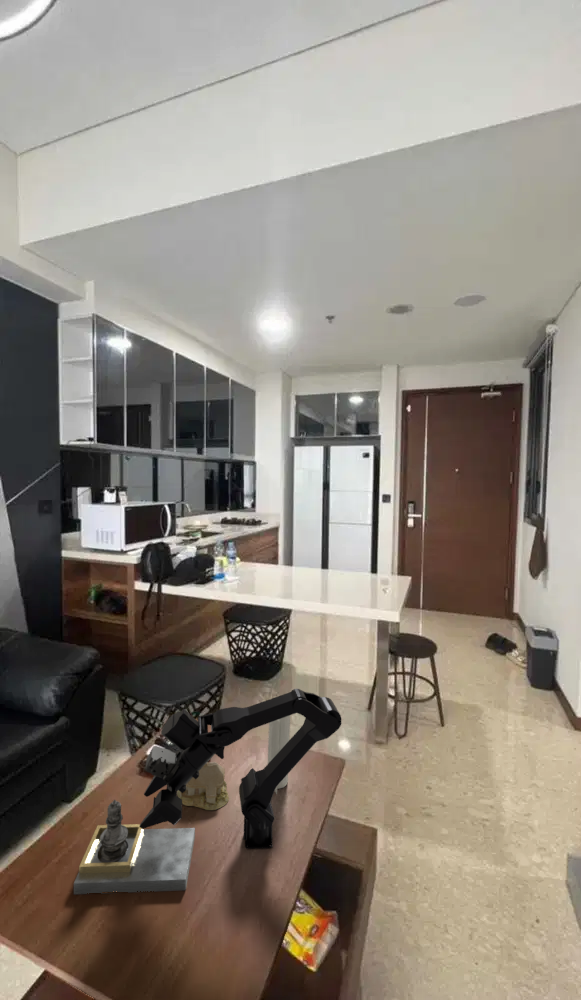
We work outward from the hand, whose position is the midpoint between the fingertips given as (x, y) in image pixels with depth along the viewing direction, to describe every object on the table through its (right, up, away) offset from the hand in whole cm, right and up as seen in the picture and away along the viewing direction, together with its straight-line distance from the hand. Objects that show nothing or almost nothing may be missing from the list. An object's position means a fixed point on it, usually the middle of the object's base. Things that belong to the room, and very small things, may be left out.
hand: (143, 810), depth 98 cm
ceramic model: (+10, -10, +20) cm, 24 cm away
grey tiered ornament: (-6, -9, -1) cm, 11 cm away
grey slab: (-1, -11, -1) cm, 11 cm away
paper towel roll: (+30, -11, +25) cm, 40 cm away
